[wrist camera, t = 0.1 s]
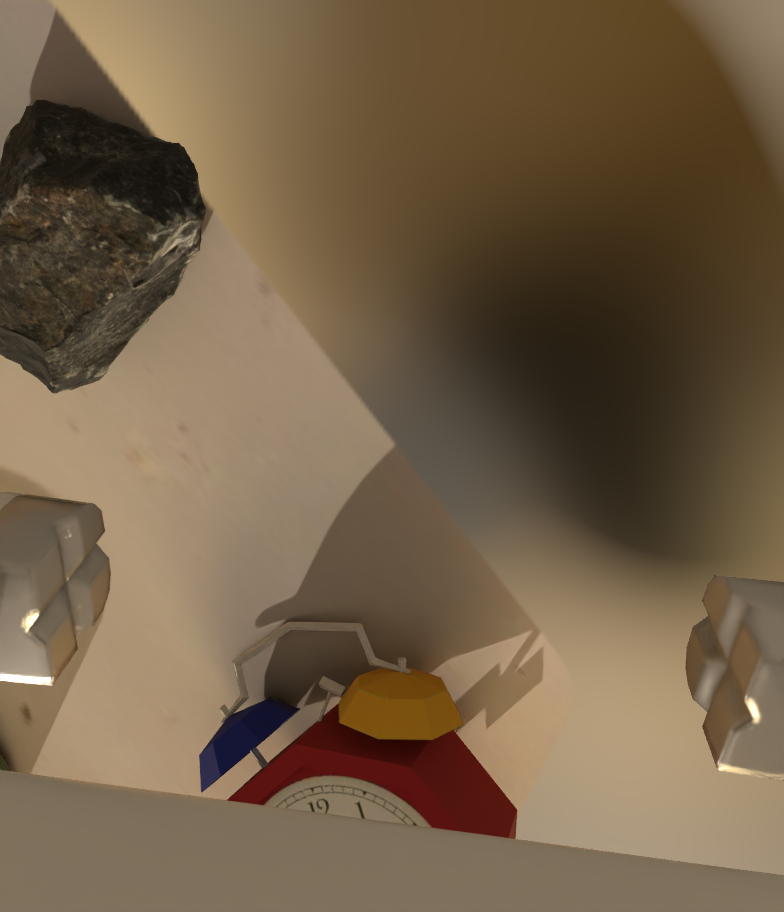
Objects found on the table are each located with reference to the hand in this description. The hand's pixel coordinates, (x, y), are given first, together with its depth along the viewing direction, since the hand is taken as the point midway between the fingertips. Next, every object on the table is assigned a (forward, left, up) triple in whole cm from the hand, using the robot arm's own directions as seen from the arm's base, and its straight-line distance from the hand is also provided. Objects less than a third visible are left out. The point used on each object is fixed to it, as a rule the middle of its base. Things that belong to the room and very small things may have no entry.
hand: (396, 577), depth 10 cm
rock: (+5, -16, -18) cm, 25 cm away
